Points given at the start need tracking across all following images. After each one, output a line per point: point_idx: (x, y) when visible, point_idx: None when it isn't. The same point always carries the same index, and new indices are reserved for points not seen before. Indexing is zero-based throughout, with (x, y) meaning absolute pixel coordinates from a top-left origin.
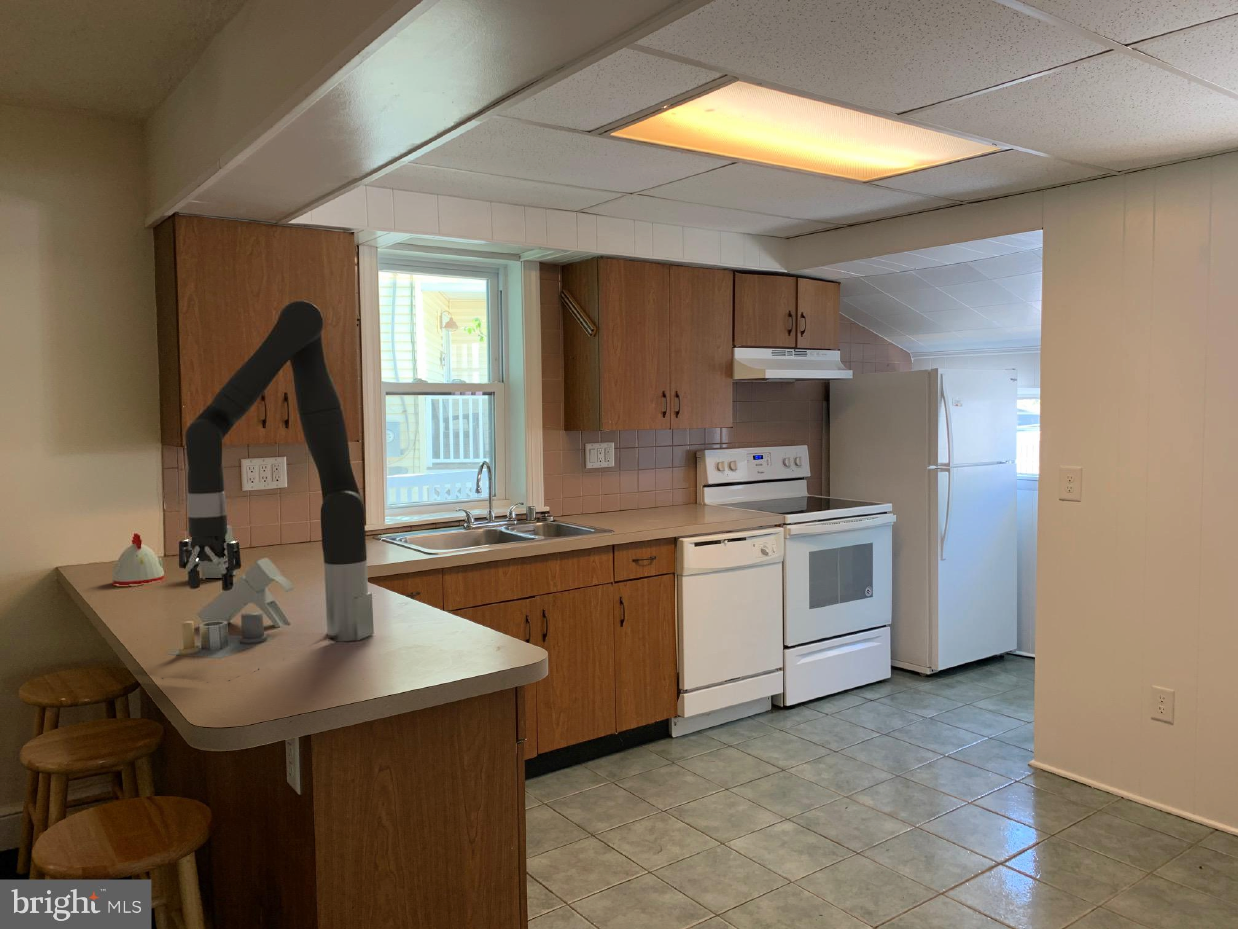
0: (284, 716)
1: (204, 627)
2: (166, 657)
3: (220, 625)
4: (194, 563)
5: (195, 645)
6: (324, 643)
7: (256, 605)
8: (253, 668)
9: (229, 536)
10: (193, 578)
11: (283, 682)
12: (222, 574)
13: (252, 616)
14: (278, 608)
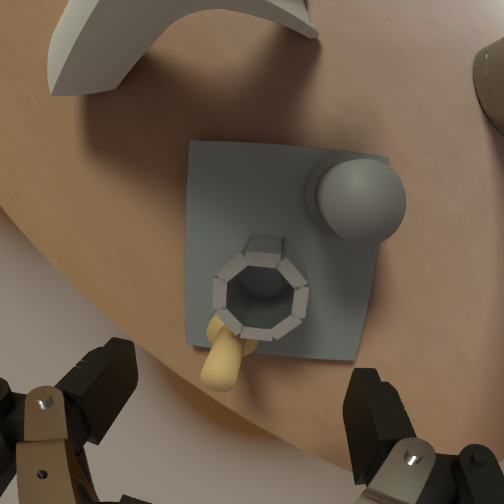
0: (500, 459)
1: (258, 338)
2: (172, 319)
3: (304, 316)
4: (95, 496)
5: None
6: (495, 150)
7: (229, 9)
8: (433, 360)
9: None
10: (113, 411)
11: (493, 398)
12: (362, 480)
13: (389, 236)
14: None
